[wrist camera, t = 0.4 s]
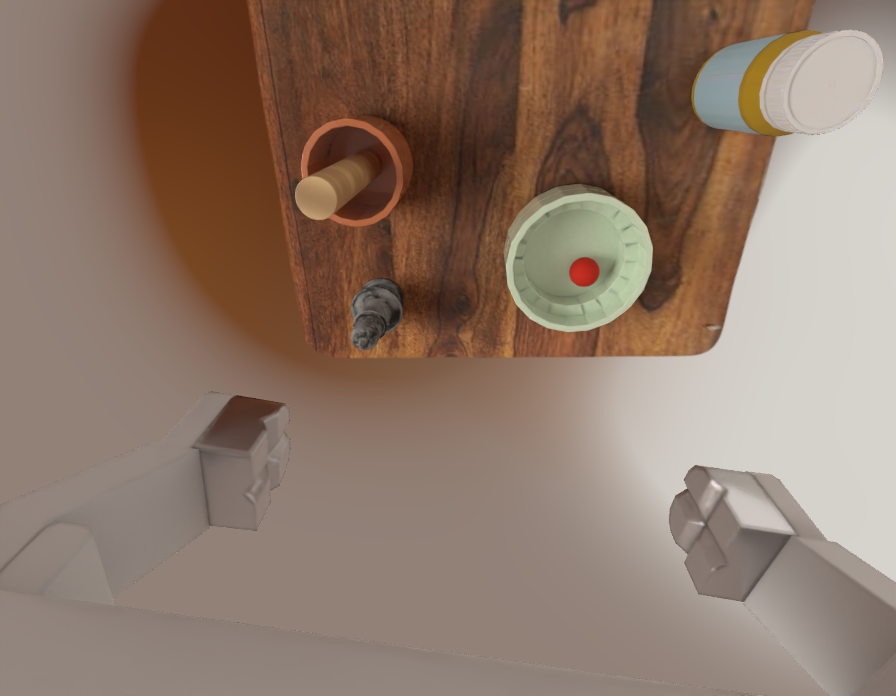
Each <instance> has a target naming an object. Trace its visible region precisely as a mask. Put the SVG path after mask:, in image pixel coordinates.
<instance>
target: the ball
mask: <svg viewBox="0 0 896 696" xmlns="http://www.w3.org/2000/svg"><path fill="white" fill-rule="evenodd" d="M599 273H600V269H599V266H598V264H597V263H596V261H594V260H593V259H591V258H588V257H582V258H579V259H577V260H575V261H574V262H573V263H572V265H571V267H570V270H569V276H570V279H571V280H572V282H573V283H574V284H576V285H577V286H580V287H587V286H590V285H592V284H594V283H595V282H596V281H597V279H598V277H599Z"/></svg>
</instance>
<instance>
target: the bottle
mask: <svg viewBox="0 0 896 696" xmlns="http://www.w3.org/2000/svg"><path fill="white" fill-rule="evenodd" d="M882 73H883V56H882V52H881V49H880V47H879V46H878V44H877V42H876V41H875V40H874V39H873V38H872V37H870V36H869V35H868V34H866V33H863V32H860V31H855V30H839V31H834V32H828V33H821V32H817V31H810V30H805V31H797V32H792V33H787V34H782V35H777V36H772V37H766V38H761V39H756V40H751V41H746V42H741V43H736V44H732V45H729V46H726V47H724V48H722V49H721V50H719V51H717V52H716V53H714V54H713V55H712V56H711V57H710V58H709V59H708V60H707V61H706V62H705V63H704V64H703V66H702V67H701V69H700V70H699V72H698V73H697V75H696V78H695V81H694V84H693V87H692V97H691V101H692V106H693V110H694V112H695V114H696V116H697V117H698V118H699V120H700V121H701V122H703V123H704V124H706V125H708V126H710V127H713V128H718V129H724V130H731V131H738V132H746V133H753V134H760V135H767V136H783V135H789V134H792V133H800V134H808V135H809V134H810V135H814V134H817V135H818V134H824V133H827V132H831V131H834V130H836V129H839V128H841V127H843V126H844V125H846V124H848V123H849V122H850V121H852V120H853V119H854V118H855V117H857V116H858V115H859V114H860V113H861V112H862V111H863V110H864V109H865V108H866V106H867V105H868V104H869V102H870V101H871V100H872V98H873V96H874V95H875V93H876V91H877V89H878V86H879V84H880V81H881V77H882Z"/></svg>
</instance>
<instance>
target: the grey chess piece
mask: <svg viewBox="0 0 896 696" xmlns="http://www.w3.org/2000/svg"><path fill="white" fill-rule="evenodd" d="M403 304H404V297H403V293H402V291H401V289H400V288H399V287H398V286H397V285H396V284H395V283H394V282H392V281H390V280H387V279H382V278H378V279H373V280H371V281H369V282H368V283H366V284H365V285H364V287H363V288H362V290H361V291H359V292H358V293H357V294H356V295H355V297H354V299H353V301H352V304H351V312H352V316H353V318H354V321H353V327H354V328H353V330H352V332H351V341H352V343H353V345H354V346H355V347H357V348H359V349H361V350H369V349H372V348H373V347H375V346H376V344H377V343H378V341H379V338H381V337H382V336H383V335H384V334H385V333H388V332H390V331H392V330H393V329H395V328H396V327H397V326H398V324H399V323H400V321H401V318H402V307H403Z"/></svg>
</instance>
